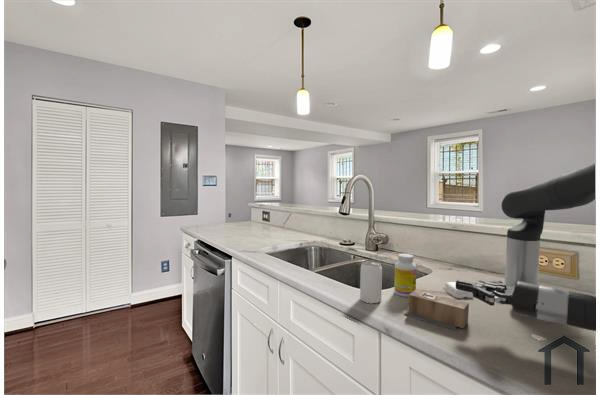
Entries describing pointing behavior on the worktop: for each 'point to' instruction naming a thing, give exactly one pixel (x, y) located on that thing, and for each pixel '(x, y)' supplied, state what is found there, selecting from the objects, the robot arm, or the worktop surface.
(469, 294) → the soap
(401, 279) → the supplement bottle
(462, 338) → the worktop surface
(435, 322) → the mat
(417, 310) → the brown wooden block
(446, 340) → the worktop surface
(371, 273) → the can
